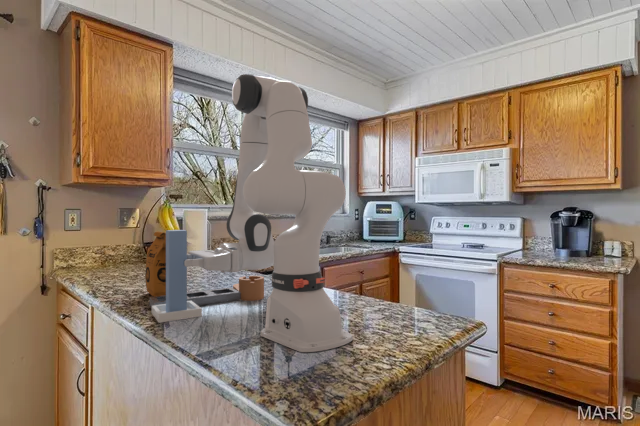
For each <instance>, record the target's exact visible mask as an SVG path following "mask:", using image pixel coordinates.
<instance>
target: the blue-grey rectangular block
mask: <svg viewBox="0 0 640 426" xmlns="http://www.w3.org/2000/svg"><path fill="white" fill-rule="evenodd" d="M165 233H166V313H167V312H174V311H181V310H187V293H188V290H187V289H188V285H187V284H188V274H187V273H188V267H186V266H184V260H187V255H188V247H187V246H188V241H187V240H188V239H187V238H188V236H187V235H188V231H187V230H186V229H170V230H169V229H168V230H166V229H165Z"/></svg>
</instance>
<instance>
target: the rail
mask: <svg viewBox="0 0 640 426" xmlns="http://www.w3.org/2000/svg"><path fill="white" fill-rule="evenodd" d="M187 301H193V302H194V303H195V304H196V305H198V306H199V307H200V306H206V305H214V304H221V303H227V302H234V301H242V300H241V292H239V291H237V290H235V289H233V287H225V288H223V287H222V288H216V289H208V290H207V289H205V290H198V291H190V292H187ZM161 304H166V295H163V296H155V297H153V296H149V306H150V308H151V309H152V306H153V305H161Z"/></svg>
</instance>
